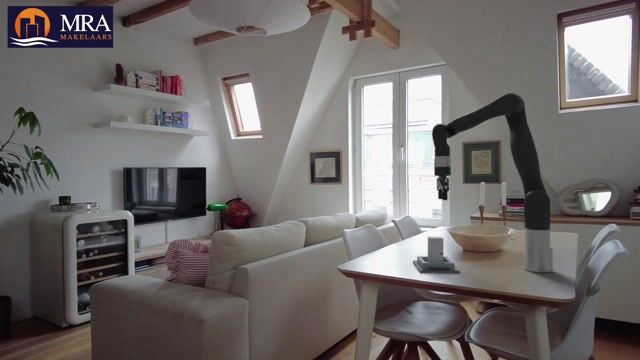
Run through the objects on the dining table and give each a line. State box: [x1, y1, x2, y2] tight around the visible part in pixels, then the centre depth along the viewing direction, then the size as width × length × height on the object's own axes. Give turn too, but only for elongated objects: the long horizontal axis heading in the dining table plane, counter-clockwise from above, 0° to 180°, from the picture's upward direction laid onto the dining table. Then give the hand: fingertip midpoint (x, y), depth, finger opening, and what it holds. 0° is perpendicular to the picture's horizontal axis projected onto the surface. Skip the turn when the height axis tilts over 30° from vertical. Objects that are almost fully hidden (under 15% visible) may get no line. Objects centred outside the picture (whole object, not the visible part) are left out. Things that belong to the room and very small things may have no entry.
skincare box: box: [427, 236, 444, 262], centre depth 162 cm, size 6×4×12 cm
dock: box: [412, 255, 461, 274], centre depth 162 cm, size 16×18×4 cm
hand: (442, 199), depth 180 cm, fingers open, 8 cm apart
